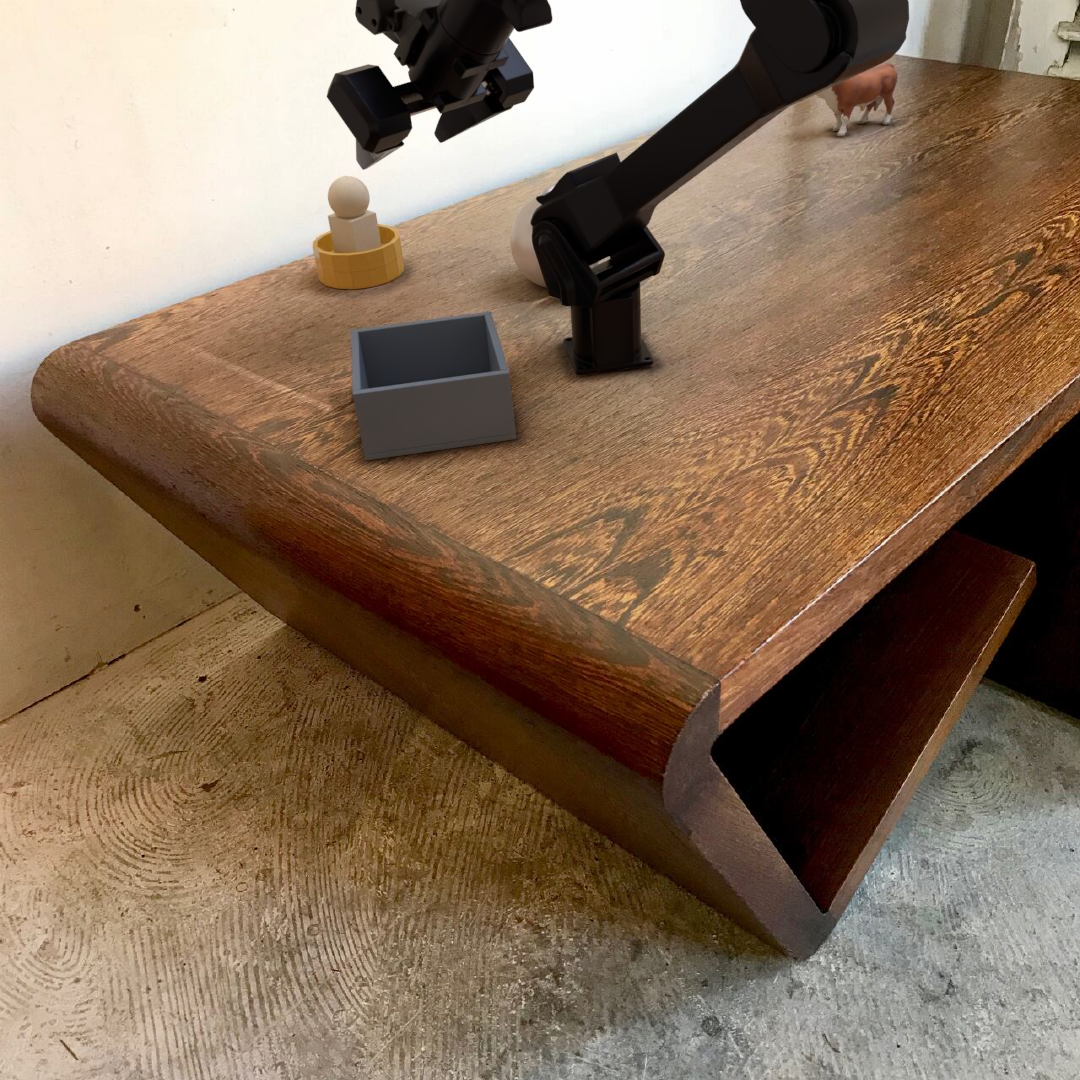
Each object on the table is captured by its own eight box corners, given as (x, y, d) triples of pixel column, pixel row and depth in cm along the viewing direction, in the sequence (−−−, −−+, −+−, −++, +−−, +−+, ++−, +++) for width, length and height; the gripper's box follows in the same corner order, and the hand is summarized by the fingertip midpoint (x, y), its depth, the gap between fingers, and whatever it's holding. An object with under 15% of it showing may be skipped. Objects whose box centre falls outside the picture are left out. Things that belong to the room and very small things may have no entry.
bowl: (407, 287, 104) (401, 248, 101) (320, 299, 103) (311, 259, 101) (402, 257, 111) (397, 219, 108) (320, 267, 110) (313, 229, 108)
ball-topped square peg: (390, 270, 106) (374, 174, 101) (359, 283, 104) (342, 185, 99) (364, 262, 109) (347, 168, 103) (334, 275, 106) (315, 179, 101)
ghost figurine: (541, 314, 96) (533, 205, 90) (499, 281, 103) (489, 178, 97) (627, 291, 99) (624, 184, 93) (581, 260, 106) (576, 159, 100)
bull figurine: (797, 135, 136) (801, 67, 131) (880, 116, 140) (888, 50, 135) (818, 142, 133) (823, 73, 128) (903, 123, 137) (911, 56, 132)
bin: (516, 439, 78) (509, 372, 75) (365, 460, 77) (352, 394, 74) (497, 373, 87) (490, 310, 84) (362, 391, 86) (350, 329, 83)
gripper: (497, -78, 87) (426, 55, 99) (316, -43, 76) (263, 101, 89) (574, 33, 87) (493, 152, 99) (404, 83, 76) (338, 209, 89)
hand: (400, 151), depth 94 cm, fingers open, 9 cm apart
